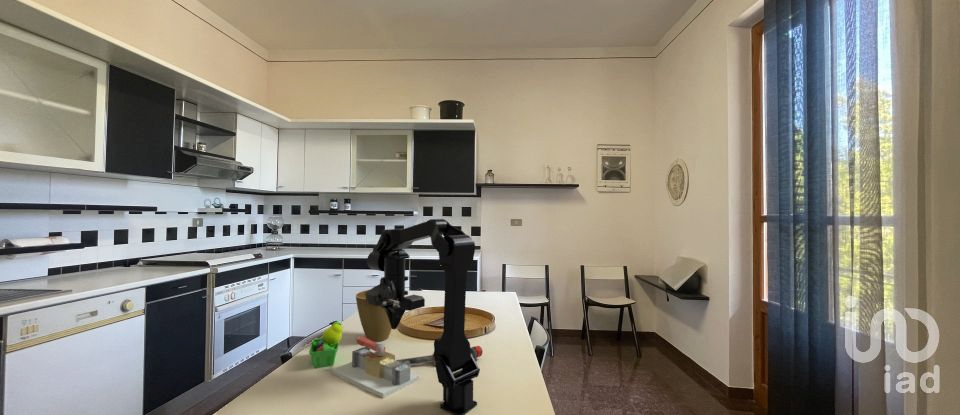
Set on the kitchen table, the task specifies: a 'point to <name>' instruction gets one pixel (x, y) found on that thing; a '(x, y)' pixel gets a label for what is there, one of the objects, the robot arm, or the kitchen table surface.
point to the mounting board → (370, 380)
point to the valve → (475, 353)
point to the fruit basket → (326, 346)
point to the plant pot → (373, 319)
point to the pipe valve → (381, 366)
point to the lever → (371, 345)
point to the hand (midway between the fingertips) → (394, 329)
